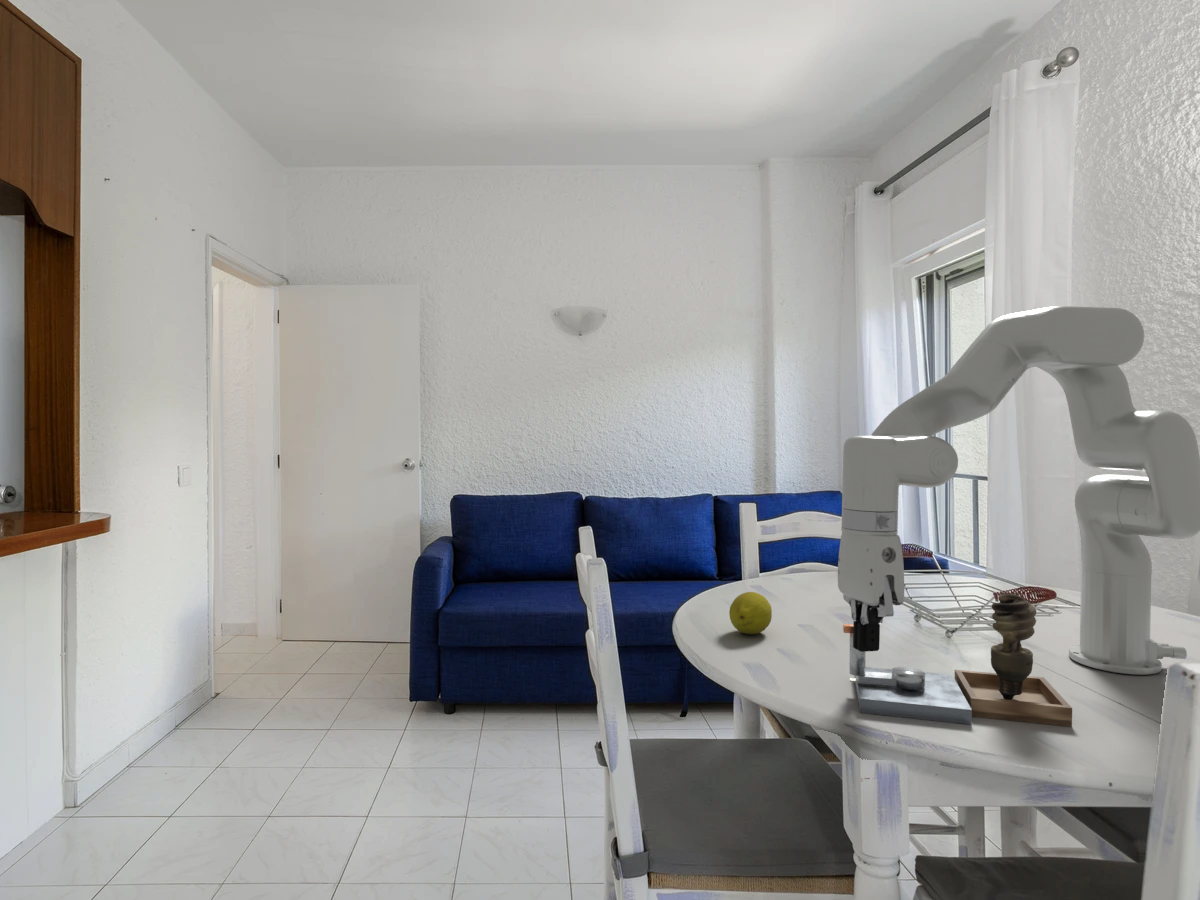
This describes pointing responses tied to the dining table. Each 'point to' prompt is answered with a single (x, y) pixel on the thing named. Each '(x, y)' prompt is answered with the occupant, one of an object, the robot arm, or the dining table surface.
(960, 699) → the crank base
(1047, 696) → the tray
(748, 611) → the lemon
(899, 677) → the crank
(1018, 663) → the light bulb
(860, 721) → the dining table surface
